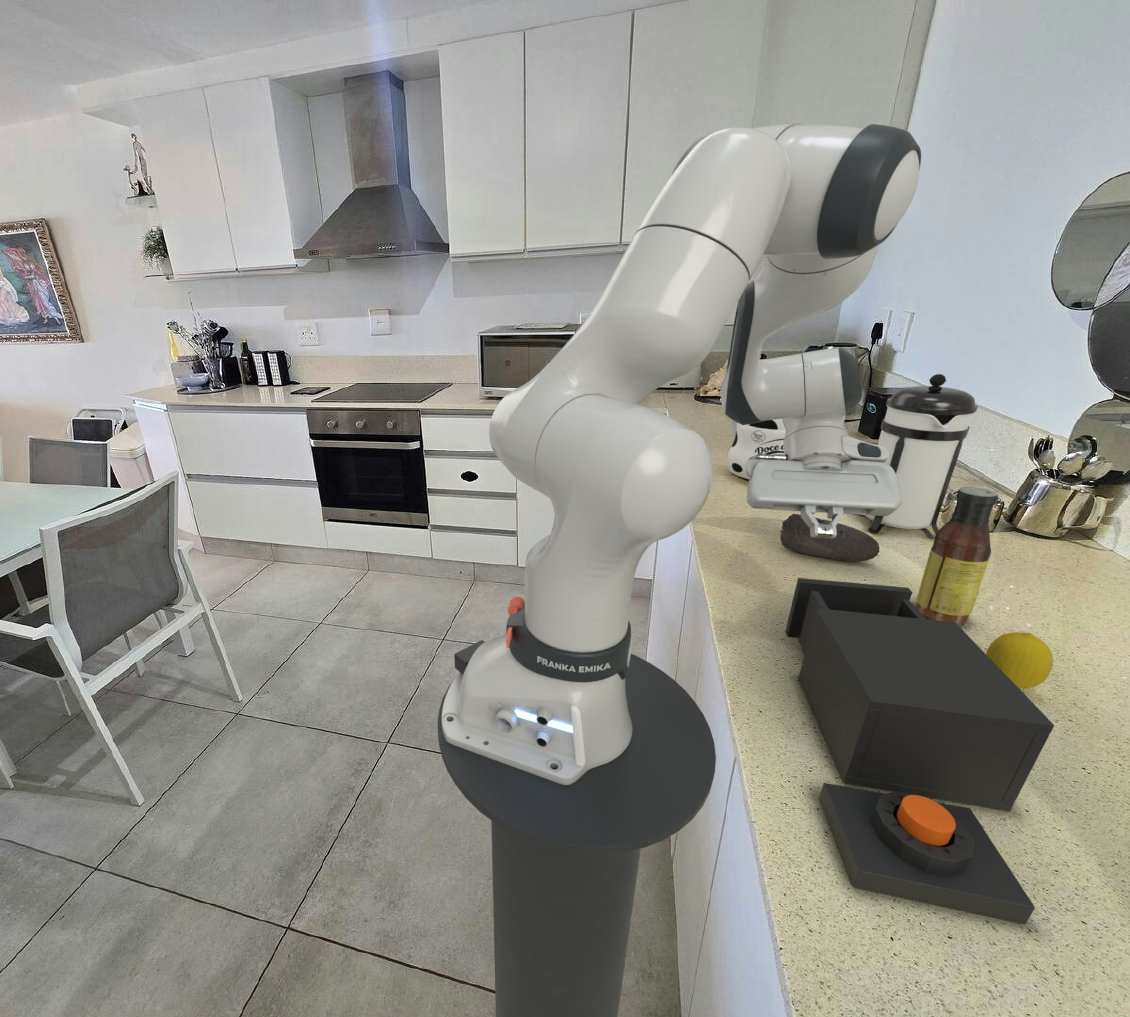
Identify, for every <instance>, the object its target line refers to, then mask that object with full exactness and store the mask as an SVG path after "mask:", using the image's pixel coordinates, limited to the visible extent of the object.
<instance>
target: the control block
mask: <svg viewBox="0 0 1130 1017" xmlns="http://www.w3.org/2000/svg"><path fill="white" fill-rule="evenodd" d="M908 795H915V794H910V793H904V792H898V791H889V792H888V793H886V792H880V791H874V790H868V789H863V788H862V789H861V788H856V787H851V786H845V785H839V784H833V783H828V782H823V785H822V787H821V790H820V794H819V797H818V799H819V802H820V804H821V807H822V809H823V813H824V815H825V818H826V820H827V823H828V825H829V828H830V830H831V833H832V835H833V838H834V841H835V843H836V846H837V849H838V851H839V854H840V857H841V859H842V862H843V865H844V867H845V870H846V872H847V874H848V877H849V880H850V882H851V885H852V887H853V888H855V889H860V890H863V891H867V892H873V893H876V894H877V893H878V894H883V895H887V896H891V897H895V898H896V897H897V898H901V899H904V900H905V899H906V900H911V901H914V902H919V903H924V904H929V905H933V906H938V907H942V908H947V909H952V910H956V911H961V912H966V913H970V914H976V915H980V916H985V917H990V918H993V919H999V920H1002V921H1007V922H1011V923H1018V924H1022V925H1026V924H1027V922H1028V921H1029V919H1030V917H1031V915H1032V914H1033V912H1034V911H1035V909H1036V906H1035V905H1034V904H1033V901H1032V900H1031V899H1030V897H1029V896H1028V894H1027V892H1026V891H1025V890H1024V888H1023V887H1022V885H1021V883H1020V882H1019V881H1018V879H1017V877H1016V876H1015V875H1014V873H1013V871H1012V869H1010V867H1009V865H1008V864H1007V862H1006V861H1005V859H1004V857H1003V856H1002V855H1001V853H1000V852H999V851H998V848H997V847H996V846H995V844H994V843H993V841H992V839H991V838H990V837H989V835H988V833H987V832H986V830H985V829H984V827H983V826H982V825H981V823H980V821H979V820H978V819H977V817H976V815H975V814H974V812H973V811H972V809H971V807H966V806H960V805H954V804H948V803H943V802H937V803H938V804H940V805H941V806H943V807H944V808H945V809H946V810H947V811H948V812H949V813H950V814H951V815H952V817H953V818H954V820H955V824H956V827H955V829H954V832H953V834H952V836H951V838H950V840H949V842H948V843H947V844H946V845H943V846H934V845H929V844H926V843H924V842H921V841H919V840H917V839H916V838H914V837H913V836H911V835H910V834H909V833H907V832H906V831H905V830H904V829H903V828H902V826H901V825H900V824H899V822H898V819H897V812H898V810H899V807H900V805H901V802H902V800H903V798H904V797H906V796H908Z"/></svg>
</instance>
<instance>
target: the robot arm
mask: <svg viewBox="0 0 1130 1017" xmlns="http://www.w3.org/2000/svg"><path fill="white" fill-rule="evenodd" d="M921 150H922V149H921V147H920V145H919V144H918V143H917V141H916V140H915V137H914V136H913V135H912V133H911V132H910V131H908V130H905V129H903V128H899V127H896V126H891V125H885V124H878V123H877V124H876V123H872V124H869V125H867V126H865V127H858V126H850V125H838V124H837V125H835V124H802V123H796V122H795V123H792V122H791V123H781V124H780V123H779V124H771V125H763V126H757V127H756V126H755V127H747V126H732V127H727V128H723V129H720V130H716V131H715V132H712V133H709V134H706V135H704V136H702V137H700V138H698V139H696V141H694V142H693V143H692V144H691V145H690V146H689V147H688V148H687V150H686V151H684V153H683V154H682V156H680V158H679V159H678V161H677V163H676V164H675V166H674V168H673V169H672V170H673V171H672V172H671V175H670V177H669V178H668V180H667V181H666V183H665V184H664V186H663V187H662V188H661V190H660V191H659V193H658V195H657V196H656V197H655V199H654V200H653V202H652V204H651V205H650V207H649V209H648V211H647V212H646V213H645V215H644V217H643V218H642V221H641V222H640V223H639V226H638V228H637V229H636V231H635V233H634V235H633V237H632V239H631V240H630V242H629V244H628V245H627V248H626V249H625V252H624V254H623V255H622V257H621V259H620V261H619V263H618V265H617V267H616V268H615V270H614V272H613V274H612V275H611V277H610V279H609V280H608V283H607V284H606V286H605V287H604V290H603V291H602V294H601V295H600V296H599V299H598V300H597V302H596V304H595V305H594V307H593V309H592V310H591V311H590V313H589V315H588V316H587V318H585V320H584V321H583V323H582V324H581V325H580V327H578V329H577V330H576V332H575V333H574V334H573V335H572V336H571V338H570V339H568V341H567V342H566V343H565V344H564V346H563V347H562V348H561V349H560V350H559V351H558V352H557V353H556V354H555V355H554V357H552V359H551V360H550V361H549V362H548V363H547V364H546V365H545V366H544V367H543V368H542V369H541V370H540V371H539V372H538V373H537V374H536V375H535V376H534V377H532V378H531V379H530V380H528V381H527V382H526V383H524V384H523V385H520V386H518V387H517V388H515V389H513V390H511V391H510V392H508V393H507V394H506V395H505V396H503V398H502V399H500V401H499V402H498V404H497V405H496V407H495V409H494V410H493V413H492V415H491V419H490V422H489V428H488V429H489V430H488V432H489V433H488V437H489V442H490V446H491V450H492V451H493V453H494V455H495V456H496V457H497V459H499V461H500V463H501V464H502V465H503V466H504V467H505V468H506V469H507V471H508V472H509V473H510V474H511V475H512V476H513V477H514V478H515V479H516V480H518V481H519V482H521V483H523V484H525V485H526V486H528V487H530V488H532V489H533V490H535V491H536V492H539V493H540V494H542V495H544V496H545V497H547V498H549V499H550V502H551V505H552V508H553V512H554V514H553V515H554V518H553V524H552V528H551V532H550V534H549V535H547V536H545V537H543V538H542V539H541V540H539V541H538V542H537V543H535V544H534V545H533V546H532V547H531V548H530V550H529V551H528V553H527V555H526V557H525V561H524V598H523V597H521V596H514V597H512V599H510V601H509V606H508V607H507V614H508V615H509V617H508V619H507V621H506V629H505V630H506V632H505V633H503V634H500V635H499V636H496V637H494V638H491V639H489V640H487V641H484V640H483V639H481V640H478V641H477V642H475V643H473V644H471V645H468V646H467V647H465V648H463V649H461V650H459V651H457V652H455V653H453V656H454V668H455V670H456V671H458V672H459V673H458V674H457V675H456V676H455V677H454V678H455V679H454V678H453V680H452V681H453V682H452V681H451V683H452V684H451V683H450V684H451V686H450V688H449V690H448V692H447V695H446V697H445V701H444V704H443V709H442V718H441V727H442V732H443V735H444V738H445V740H446V741H447V742H448V743H450V744H452V745H455V746H457V747H460V748H463V749H466V750H468V751H471V752H474V753H477V754H479V755H482V756H485V757H488V758H490V759H493V760H496V761H498V762H501V763H504V764H507V765H509V766H512V767H515V768H518V769H520V770H523V771H526V772H529V773H531V774H534V775H537V776H540V777H542V778H545V779H548V780H551V781H553V782H556V783H559V784H562V785H570V784H572V783H574V782H576V781H577V780H578V779H579V778H580V777H581V776H582V775H583V774H584V773H585V772H586V771H588V770H590V769H592V768H595V767H598V766H601V765H604V764H606V763H608V762H610V761H612V760H614V759H616V758H617V757H618V756H620V755H621V754H622V753H623V752H624V751H625V749H626V748H627V747H628V745H629V743H630V741H631V737H632V731H633V727H632V721H631V717H630V714H629V710H628V705H627V698H626V686H625V677H626V674H627V669H628V668H629V663H630V655H631V654H632V644H633V635H632V626H631V622H630V620H629V616H630V608H631V601H632V594H633V587H634V582H635V576H636V571H637V568H638V566H639V563H640V561H641V559H642V557H643V555H644V553H645V552H646V551H647V549H648V548H649V547H650V546H651V545H653V544H654V543H656V542H658V541H661V540H664V539H667V538H669V537H672V536H673V535H675V534H677V533H679V532H680V531H682V530H683V529H684V528H685V527H687V526H688V525H689V524H690V523H691V522H692V521H693V520H694V519H695V518H696V517H697V516H698V514H699V513H700V512H701V510H702V509H703V507H704V505H705V504H706V502H707V500H708V497H709V495H710V493H711V492H710V491H711V488H712V485H713V477H714V476H713V474H714V467H713V459H712V454H711V453H712V452H711V451H710V448H709V445H708V444H707V442H706V440H705V439H704V438H703V437H702V436H701V435H700V434H699V433H698V432H696V431H694V430H692V429H691V428H690V427H688V426H687V425H685V424H683V423H681V422H680V421H678V420H676V419H674V418H672V417H671V416H669V415H667V414H665V413H663V412H662V411H660V410H658V409H655V408H652V407H650V406H649V407H648V406H645V405H641V402H643V401H644V400H645V399H646V398H647V397H648V396H649V395H651V394H652V393H653V392H655V391H656V390H657V389H659V388H660V387H661V386H663V385H665V384H666V383H669V382H671V381H673V380H676V379H678V378H681V377H682V376H685V375H687V374H689V373H690V372H692V371H693V370H695V369H696V368H697V367H698V366H700V365H701V364H702V363H703V362H704V361H705V359H706V358H707V356H708V355H709V353H710V352H711V350H712V348H713V346H714V345H715V343H716V342H717V341H716V340H717V339H718V338H719V336H720V334H721V333H722V330H723V328H724V327H725V326H726V323H727V321H728V320H729V318H730V317H731V315H732V313H733V312H734V310H735V307H736V310H735V316H734V321H733V326H732V327H733V328H732V332H731V340H730V346H729V347H730V348H729V353H728V361H727V365H726V371H725V375H724V377H723V380H722V383H721V387H720V402H721V407H722V409H723V412H724V415H725V416H726V417H727V418H729V419H731V420H732V421H734V422H735V423H736V424H737V423H739V424H741V425H747V424H753V423H758V422H763V421H766V420H775V419H782V421H783V424H784V426H785V429H786V434H785V437H784V454H772V455H766V454H756V455H755V456H752V457H750V458H749V459H748V460H747V461H746V473H747V475H748V476H749V477H750V478H749V481H748V484H747V492H746V503H747V504H748V506H750V507H751V509H758V510H773V511H775V510H776V511H789V512H790V511H791V512H800V515H801V518H802V519H803V520H804V522H805V523H806V524H807V525H808V527H810V535H811V537H813V538H828V539H834V538H835V537H836V535H837V531H836V525H837V524H838V523H840V521H841V519H842V518H843V517H844V515H859V516H865V515H873V516H888V515H890V514H891V513H893V512H894V511H895V510H897V509H898V508H899V507H900V505H901V503H902V498H901V492H900V487H899V483H898V479H897V476H896V473H895V471H894V470H893V468H892V467H891V466H890V465H888V464H886V463H885V462H886V461H887V459H888V458H889V452H888V450H887V449H886V448H885V447H882V446H878V444H874V443H871V442H867V441H864V440H860V439H858V438H855V437H852V436H850V434H849V431H848V429H847V427H846V425H845V419H846V416H848V415H849V414H851V412H852V411H853V410H854V409H855V408H856V407H857V406H858V404H859V403H860V402H861V400H862V398H863V389H862V388H863V387H862V382H861V377H860V374H859V373H860V371H859V366H860V365H859V359H858V358H857V357H855V356H854V355H853V354H852V353H850V352H849V351H848V350H845V349H843V348H842V347H838V348H835V347H834V348H826V349H819V350H813V351H811V350H810V351H806V352H801V353H796V354H790V355H784V356H778V357H772V358H763V359H760V358H761V353H762V348H763V345H764V342H765V341H766V340H767V339H768V338H770V337H771V336H772V335H774V334H775V333H778V332H779V331H781V330H783V329H785V328H788V327H789V326H792V325H794V324H796V323H798V322H802V321H804V320H806V319H809V318H812V317H814V316H818V315H819V314H822V313H824V312H827V311H829V310H831V309H833V308H834V307H836V306H837V305H839V304H841V303H843V302H844V301H846V299H848V298H849V297H851V295H853V294H855V292H856V291H857V290H858V289H859V288H860V287H861V285H863V283H864V282H865V281H866V279H867V278H868V276H869V274H870V273H871V270H872V267H873V264H874V261H875V258H876V255H877V249H878V246H879V245H881V244H883V243H884V242H885V241H886V240H887V239H888V238H889V237H890V236H891V235H892V234H893V232H894V230H895V229H896V227H897V226H898V224H899V223H900V221H901V220H902V219H903V217H904V215H906V212H907V211H908V209H909V207H910V205H911V203H912V201H913V199H914V197H915V194H916V190H917V189H918V188H917V187H918V183H919V177H920V170H921V165H922V164H921V163H922V151H921ZM764 255H766V260H765V262H764V265H763V267H762V268H761V269H760V272H759V273H758V275H757V276H756V277H755V278H754V279H753V280H751V279H752V277H753V275H754V273H755V272H756V270H757V268H758V266H759V264H760V262H761V260H762V258H763V256H764ZM754 458H755V459H754ZM815 513H825V514H826V515H827V517H826V518H827V520H830V521H831V522H830V523H829V524H819V523H818V521H817V520H816V518H817V517H816V516H814V514H815ZM815 517H816V518H815ZM449 721H451V722H449ZM551 768H556V770H553V769H551Z"/></svg>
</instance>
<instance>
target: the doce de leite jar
mask: <svg viewBox="0 0 1130 1017" xmlns="http://www.w3.org/2000/svg"><path fill="white" fill-rule="evenodd" d="M785 434H786V429H785V426H784V424H783V421H782V419H775V420H766V421H763V422H758V423H753V424H747V425H741V424H739V423H737V422H736V430H735V435H734V436H735V437H734V439H733V442H732V445H731V447H730V448H729V451H728V454H727V469H728V471H729V473H730V474H731V475H732V476H734V477H736V478H738V479H740V480H743V481H746V482H749V478H750V477H749V476H748V475H747V473H746V461H747V460H748V459H749V458H750V457H752V456H755V455H756V454H766V455H772V454H784V437H785ZM754 459H755V458H754Z"/></svg>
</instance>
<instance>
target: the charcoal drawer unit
mask: <svg viewBox="0 0 1130 1017" xmlns="http://www.w3.org/2000/svg"><path fill="white" fill-rule="evenodd" d="M797 681H798V683H799V685H800V687H801V690H802V692H803V694H804V697H805V699H806V701H807V703H808V706H809V708H810V710H811V713H812V715H813V717H814V719H815V722H816V724H817V726H818V729H819V730H820V733H821V734H822V737H823V739H824V742H825V743H826V744H825V745H826V746H827V748H828V750H829V753H830V755H831V757H832V760H833V762H834V764H835V766H836V768H837V771H838V773H839V776H840V777H841V780H842V782H843V783H844V784H848V785H853V786H854V785H855V786H859V787H865V788H872V789H877V790H884V791H889V792H894V791H898V792H904V793H910V794H915V795H919V796H923V797H926V798H929V799H935V800H941V801H947V802H951V803H957V804H958V803H959V804H962V805H963V804H964V805H970V806H975V807H981V808H987V809H992V810H999V811H1005V812H1011V810H1012V809H1013V807H1014V804H1015V803H1016V800H1017V798H1018V797H1019V795H1020V793H1021V791H1022V789H1023V787H1024V785H1025V783H1026V781H1027V780H1028V777H1029V775H1030V774H1031V771H1032V770H1033V768H1034V766H1035V764H1036V762H1037V760H1038V758H1039V756H1040V755H1041V753H1042V750H1043V748H1044V747H1045V744H1046V743H1047V740H1048V738H1049V737H1050V734H1051V733H1052V731H1053V729H1054V727H1055V724H1054V723H1053V722H1052V721H1051V720H1050V719H1049V718H1048V717H1047V716H1046V715H1045V714H1044V712H1042V711H1041V710H1040V709H1039V708H1038V707H1037V706H1036V704H1035V703H1033V701H1031V699H1030V698H1029V697H1028V696H1027V695H1026V694H1025V693H1024V692H1023V691H1022V689H1019V688H1018V687H1017V686H1016V685H1015V684H1014V683H1013V682H1012V681H1011V680H1010V679H1009V678H1008V677H1007V676H1006V675H1005V674H1004V672H1003V671H1002V670H1001V669H1000V668H999V667H998V666H997V665H996V664H995V663H994V662H993V661H992V660H991V659H990V658H989V657H988V656H987V655H986V652H985V651H983V649H982V648H981V647H980V646H979V645H978V644H977V643H976V642H975V641H974V640H973V639H972V638H971V637H970V636H969V635H968V634H967V633H966V632H965V631H964V630H963V629H962V628H961V627H960V625H957V624H956V623H955V622H948V621H938V620H930V619H928V618H926V619H918V618H908V617H898V616H888V615H878V614H868V613H858V612H848V611H838V610H828V609H818V608H817V609H816V613H815V617H814V620H813V624H812V628H811V632H810V636H809V640H808V643H807V647H806V651H805V654H804V655H803V659H802V663H801V666H800V670H799V675H798V679H797Z"/></svg>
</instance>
